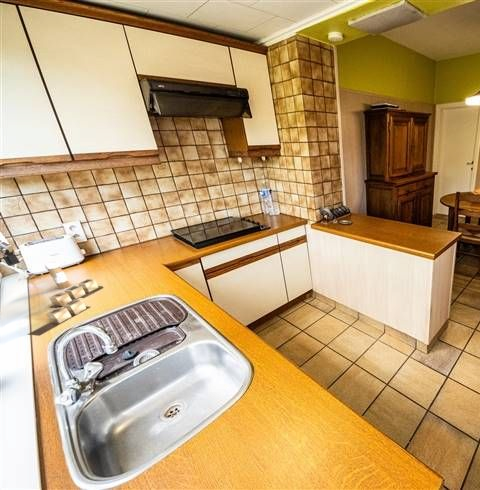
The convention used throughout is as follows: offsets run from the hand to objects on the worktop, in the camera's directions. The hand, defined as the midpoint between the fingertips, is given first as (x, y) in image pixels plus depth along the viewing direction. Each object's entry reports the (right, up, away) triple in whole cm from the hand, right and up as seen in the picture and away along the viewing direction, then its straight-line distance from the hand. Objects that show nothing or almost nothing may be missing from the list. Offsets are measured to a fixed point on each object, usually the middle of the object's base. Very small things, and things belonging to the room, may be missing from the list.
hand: (5, 263), depth 109 cm
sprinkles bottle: (-7, -14, +27) cm, 32 cm away
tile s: (+12, -14, +22) cm, 29 cm away
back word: (+12, -17, +17) cm, 27 cm away
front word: (+23, -24, +1) cm, 33 cm away
